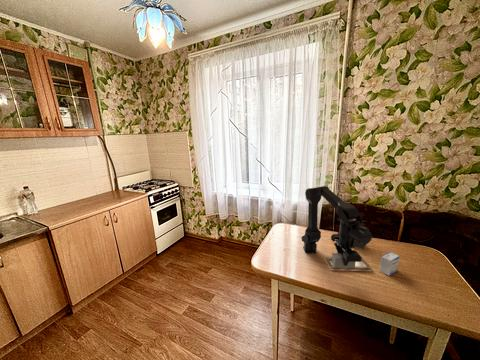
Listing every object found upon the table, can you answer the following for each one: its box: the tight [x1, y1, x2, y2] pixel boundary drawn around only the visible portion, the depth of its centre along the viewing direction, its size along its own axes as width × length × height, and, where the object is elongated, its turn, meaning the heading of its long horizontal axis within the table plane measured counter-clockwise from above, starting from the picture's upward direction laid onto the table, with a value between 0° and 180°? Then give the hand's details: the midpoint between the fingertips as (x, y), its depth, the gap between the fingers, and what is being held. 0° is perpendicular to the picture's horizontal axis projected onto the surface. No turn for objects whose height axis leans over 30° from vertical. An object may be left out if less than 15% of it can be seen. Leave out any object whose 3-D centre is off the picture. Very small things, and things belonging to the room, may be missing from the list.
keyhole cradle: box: [324, 256, 373, 272], centre depth 106 cm, size 20×9×2 cm, turn 85°
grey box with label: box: [331, 252, 355, 268], centre depth 93 cm, size 9×4×5 cm, turn 85°
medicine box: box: [379, 252, 401, 277], centre depth 100 cm, size 8×4×9 cm, turn 117°
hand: (343, 262), depth 94 cm, fingers closed on grey box with label, 4 cm apart
